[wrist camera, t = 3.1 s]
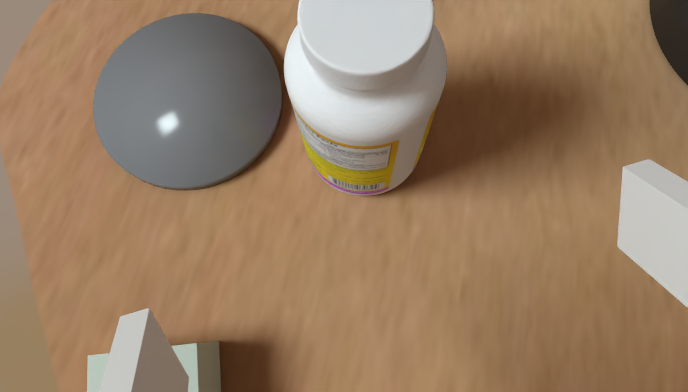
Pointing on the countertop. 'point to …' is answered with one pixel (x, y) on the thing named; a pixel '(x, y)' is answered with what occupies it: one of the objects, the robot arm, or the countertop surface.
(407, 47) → the supplement bottle
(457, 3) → the countertop surface
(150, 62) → the slate coaster
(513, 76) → the countertop surface
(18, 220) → the countertop surface
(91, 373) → the grey-green painted block
